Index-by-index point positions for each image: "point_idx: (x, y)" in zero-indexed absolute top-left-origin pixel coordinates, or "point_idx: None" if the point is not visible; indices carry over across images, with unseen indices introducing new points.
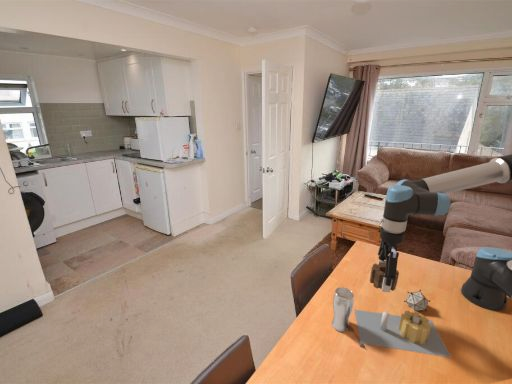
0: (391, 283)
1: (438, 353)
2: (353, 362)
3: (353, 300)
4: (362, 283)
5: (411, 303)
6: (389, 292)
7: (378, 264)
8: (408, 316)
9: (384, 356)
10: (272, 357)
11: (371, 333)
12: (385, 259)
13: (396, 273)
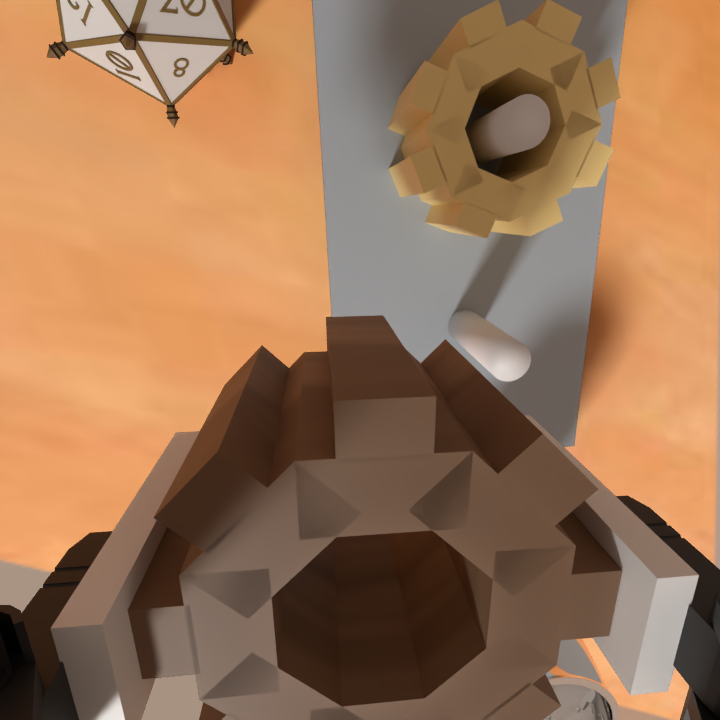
0: (607, 491)
1: (608, 24)
2: (644, 466)
3: None
4: (9, 384)
5: (209, 68)
6: (528, 419)
7: (223, 710)
8: (484, 180)
9: (608, 335)
10: (636, 708)
11: (507, 391)
12: (41, 688)
13: (427, 428)
